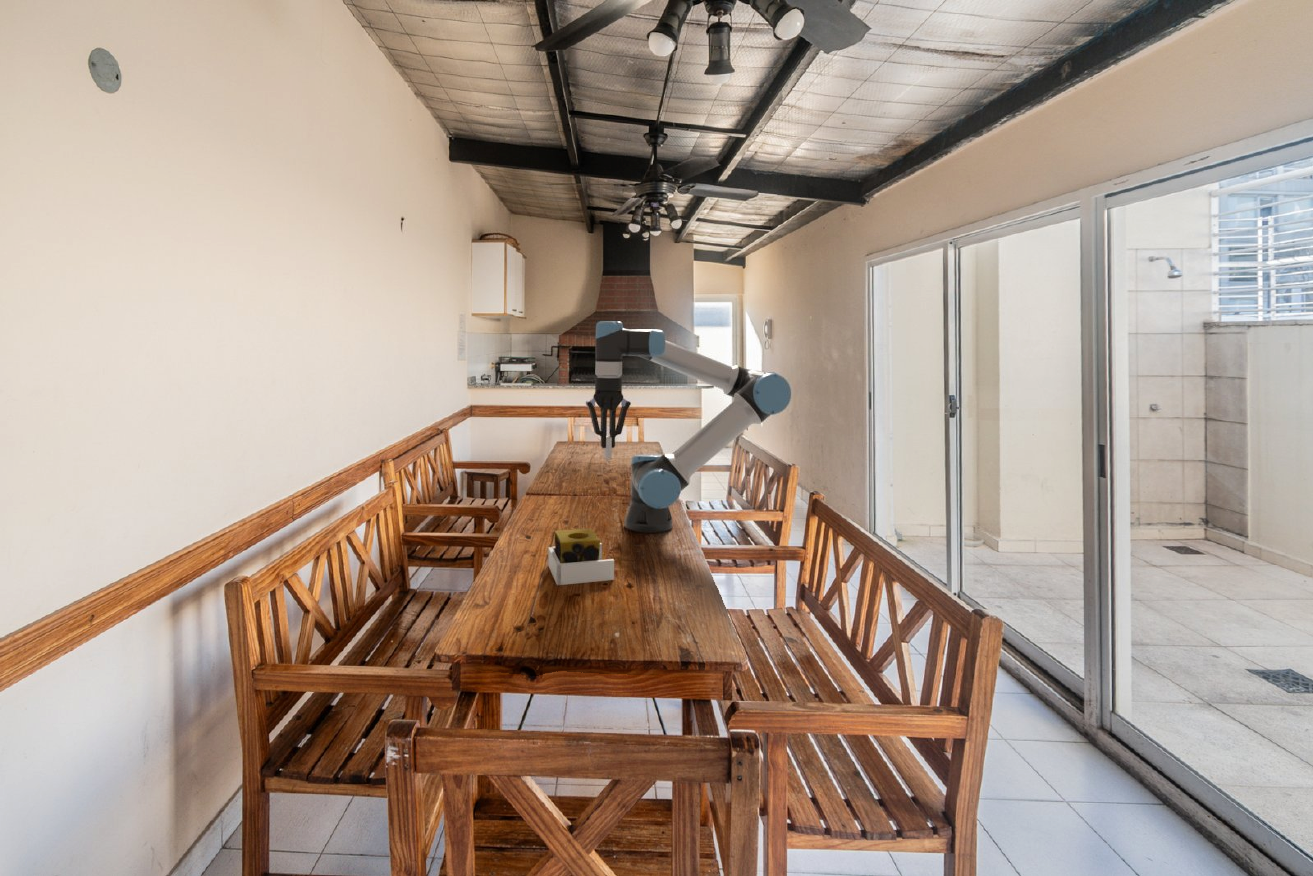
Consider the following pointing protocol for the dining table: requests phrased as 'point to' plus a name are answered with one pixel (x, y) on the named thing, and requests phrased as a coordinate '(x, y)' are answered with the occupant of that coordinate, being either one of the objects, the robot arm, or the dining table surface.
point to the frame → (580, 569)
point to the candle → (576, 545)
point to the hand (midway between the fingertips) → (607, 458)
